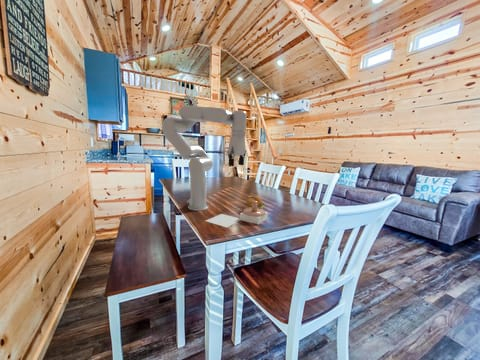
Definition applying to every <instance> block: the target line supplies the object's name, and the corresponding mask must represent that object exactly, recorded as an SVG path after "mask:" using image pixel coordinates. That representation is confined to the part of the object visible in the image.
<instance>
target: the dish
mask: <svg viewBox="0 0 480 360" xmlns="http://www.w3.org/2000/svg"><path fill="white" fill-rule="evenodd" d="M265 212H266V213H265V215H263V216H258V217H254V216H248V215H245V214H244V213H243V211H242V212H240V214H239V218H240V221H243V222H247V223H251V224H254V225H260V224H262V223H263V222H265V221H266V220H268V219H269V217H268V216H269V212H268V211H265Z"/></svg>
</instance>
